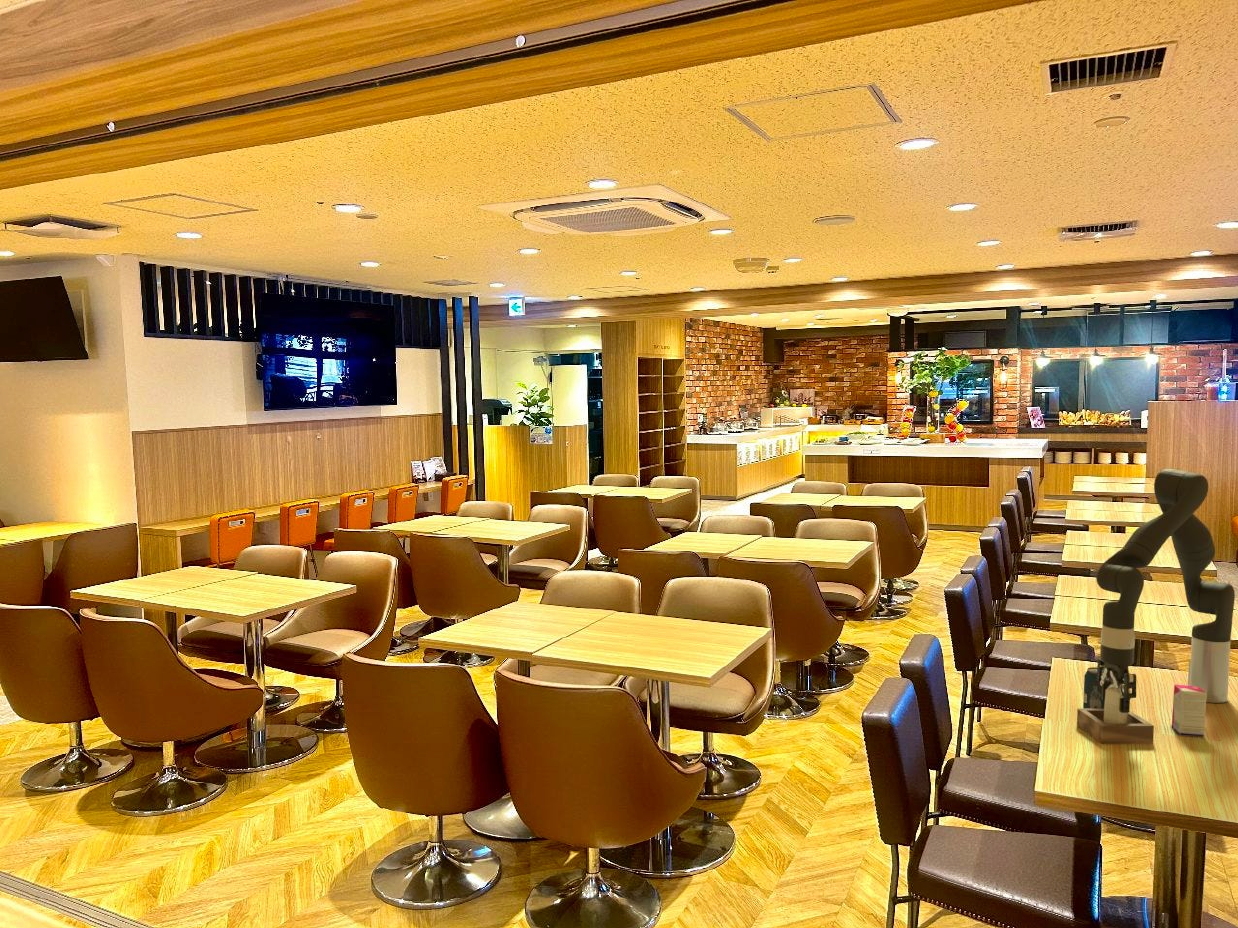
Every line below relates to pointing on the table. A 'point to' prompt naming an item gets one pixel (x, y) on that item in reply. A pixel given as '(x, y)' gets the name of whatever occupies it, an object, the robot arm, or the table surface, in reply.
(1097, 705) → the soda can
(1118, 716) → the skincare box
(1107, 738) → the brown wooden square frame
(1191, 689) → the supplement box
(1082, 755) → the table surface
